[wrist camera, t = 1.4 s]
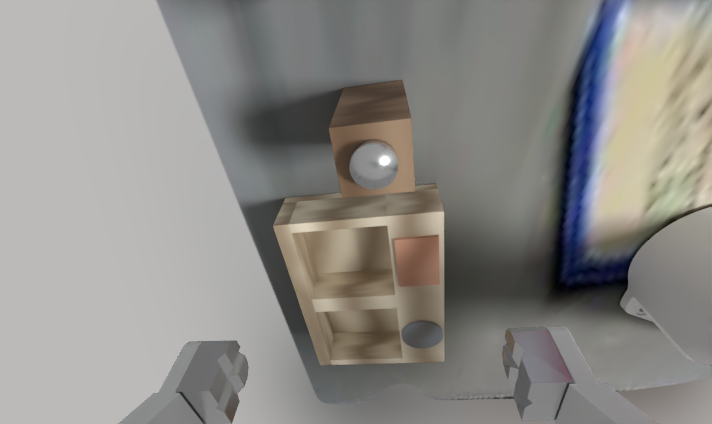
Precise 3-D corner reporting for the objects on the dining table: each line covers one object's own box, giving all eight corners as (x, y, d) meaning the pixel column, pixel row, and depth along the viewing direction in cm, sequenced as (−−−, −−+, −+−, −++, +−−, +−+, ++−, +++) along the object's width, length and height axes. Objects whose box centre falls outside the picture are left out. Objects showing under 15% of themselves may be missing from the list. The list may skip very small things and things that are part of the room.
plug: (402, 79, 28) (412, 123, 19) (406, 136, 31) (416, 199, 22) (343, 88, 29) (326, 133, 20) (352, 142, 32) (340, 205, 23)
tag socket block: (436, 183, 33) (444, 213, 29) (438, 327, 45) (444, 364, 41) (285, 197, 35) (271, 227, 31) (325, 332, 47) (319, 367, 43)
